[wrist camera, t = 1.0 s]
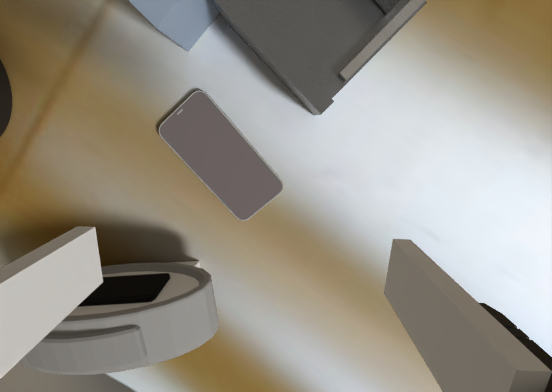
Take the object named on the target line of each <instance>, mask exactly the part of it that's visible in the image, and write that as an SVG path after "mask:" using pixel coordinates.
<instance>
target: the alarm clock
mask: <svg viewBox="0 0 552 392" xmlns="http://www.w3.org/2000/svg"><path fill="white" fill-rule="evenodd" d="M101 270H102V277H103V283H102V284H100V285H99V286H98V287H97V288H96V289H95V290H94V291H93V292H92V293H91V294H90V295H89V296H88V297H87V298H86V299H85V300H83V301H82V302H81V303H80V304H79V305H78V306H77V307H76V308H75V309H74V310H73V311H72V312H71V313H70V314H69V315H68V316H66V317H65V318H64V319H63V320H62V321H61V322H60V323H59V324H58V325H57V326H56V327H55V328H54V329H53V330H52V331H51V332H49V333H48V334H47V335H46V336H45V337H44V338H43V339H42V340H41V341H40V342H39V343H38V344H37V345H36V346H35V347H34V348H33V349H31V350H30V351H29V352H28V353H27V354H26V355H25V356H24V357H23V358H22V359H21V360H20V362H21V363H22V365H24V366H26V367H29V368H31V369H34V370H36V371H40V372H47V373H53V374H59V375H60V374H61V375H92V374H102V373H111V372H120V371H125V370H130V369H135V368H140V367H145V366H150V365H153V364H156V363H160V362H163V361H166V360H169V359H172V358H176V357H178V356H180V355H183V354H185V353H187V352H189V351H191V350H193V349H196V348H198V347H199V346H201V345H202V344H204V343H205V342H206V341H208V340H209V339H210V338H212V337H213V335H214V334H215V332H216V331H217V329H218V328H219V325H218V316H217V310H216V304H215V297H214V291H213V285H212V279H211V275H210V274H209V273H208V272H206V271H205V270H204V269H202V268H201V267H200V261H187V262H172V263H159V262H151V263H130V264H119V265H109V266H103V267H101Z"/></svg>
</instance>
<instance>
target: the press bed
mask: <svg viewBox="0 0 552 392" xmlns="http://www.w3.org/2000/svg"><path fill="white" fill-rule="evenodd" d="M212 1H213V3H214V4H215V6H216V8H217V9H218V11H219V13H220V15H221V16H222V18H223V19H224V20H225V21H226V22H227V23H228V24H229V25H230V26H231V27H232V29H233V30H234V31H235V32H236V33H237V34H238V35H239V36H240V37H241V38H242V39H243V40H244V41H245V42H246V43H247V44H248V46H249V47H250V48H251V49H252V50H253V51H254V52H255V53H256V54H257V55H258V56H259V57H260V58H261V59H262V60H263V62H264V63H265V64H266V65H267V66H268V67H269V68H270V69H271V70H272V71H273V72H274V73H275V74H276V75H277V76H278V78H279V79H280V80H281V81H282V82H283V83H284V84H285V85H286V86H287V87H288V88H289V89H290V90H291V91H292V92H293V93H294V95H295V96H296V97H297V98H298V99H299V100H300V101H301V102H302V103H303V104H304V105H305V106H306V107H307V108H308V109H309V111H310V112H311V113H312V114H313V115H320V114H322V113H323V112H324V111H325V110H326V109H327V108H328V107H329V106H330V105H331V104H332V103H333V102H334V101H333V100H332V98H333V97H334V96H335V95H336V94H337V93H338V92H339V91H340V90H341V89H342V88H343V87H344V86H345V85H346V84H347V83H348V82H349V81H350V80H351V79H352V78H353V77H354V76H355V75H356V74H357V73H358V72H359V70H360V69H361V68H362V67H363V66H364V65H365V64H366V63H367V62H368V61H369V60H370V59H371V58H372V57H373V56H374V55H375V54H376V53H377V52H378V51H379V50H380V49H381V48H382V47H383V46H384V45H385V44H386V43H387V42H388V41H389V40H390V39H391V38H392V37H393V36H394V35H395V34H396V33H397V32H398V31H399V30H400V29H401V28H402V27H403V26H404V25H405V24H406V23H407V22H408V21H409V20H410V19H411V18H412V17H413V16H414V15H415V14H416V13H417V12H418V11H419V10H420V9H421V8H422V7H423V6H424V5H425V4H426V3H427V2H426V1H425V0H400V1H399V2H398V3H397V4H396V5H395V7H394V8H393V9H392V10H391V11H390V12H389V13H388V14H386V13H385V12H384V11H383V10H382V8H381V7H380V6H379V5H378V3H377V2H376V1H375V0H212Z"/></svg>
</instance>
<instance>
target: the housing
mask: <svg viewBox="0 0 552 392" xmlns="http://www.w3.org/2000/svg"><path fill="white" fill-rule="evenodd" d="M129 1H130V2H131V3H132V4H133V5H134V6H135V7H136V8H137V9H138V11H139V12H140V13H141V14H142V15H143V16H144V17H145V18H146V19H147V20H148V21H149V22H150V23H151V24H152V25H153V26H154V27H155V28H157V29H158V30H159V31H161V32H162V33H163V34H165V35H166V36H168V37H169V38H170V39H172V40H173V41H174V42H176V43H177V44H179V45H180V46H181V47H183V48H184V49H186V50H187V51H189V50H190V49H191V48H192V47H193V45H194V44H195V43H196V42H197V40H198V39H199V38H200V37H201V36H202V34H203V33H204V32H205V31H206V29H207V28H208V27H209V26H210V24H211V23H212V22H213V21H214V20H215V18H216V17H217V16H218V15H219V11H218V9H217V8H216V6H215V4H214V3H213V1H212V0H129Z"/></svg>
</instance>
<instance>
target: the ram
mask: <svg viewBox="0 0 552 392" xmlns="http://www.w3.org/2000/svg"><path fill="white" fill-rule="evenodd" d="M375 1H376V2H377V3H378V5H379V6H380V7H381V8H382V10H383V11H384V12H385V13H386V14H388V13H389V12H390V11H391V10H392V9H393V8H394V7H395V5H396V4H397V3H398V2H399V1H400V0H375Z"/></svg>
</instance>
